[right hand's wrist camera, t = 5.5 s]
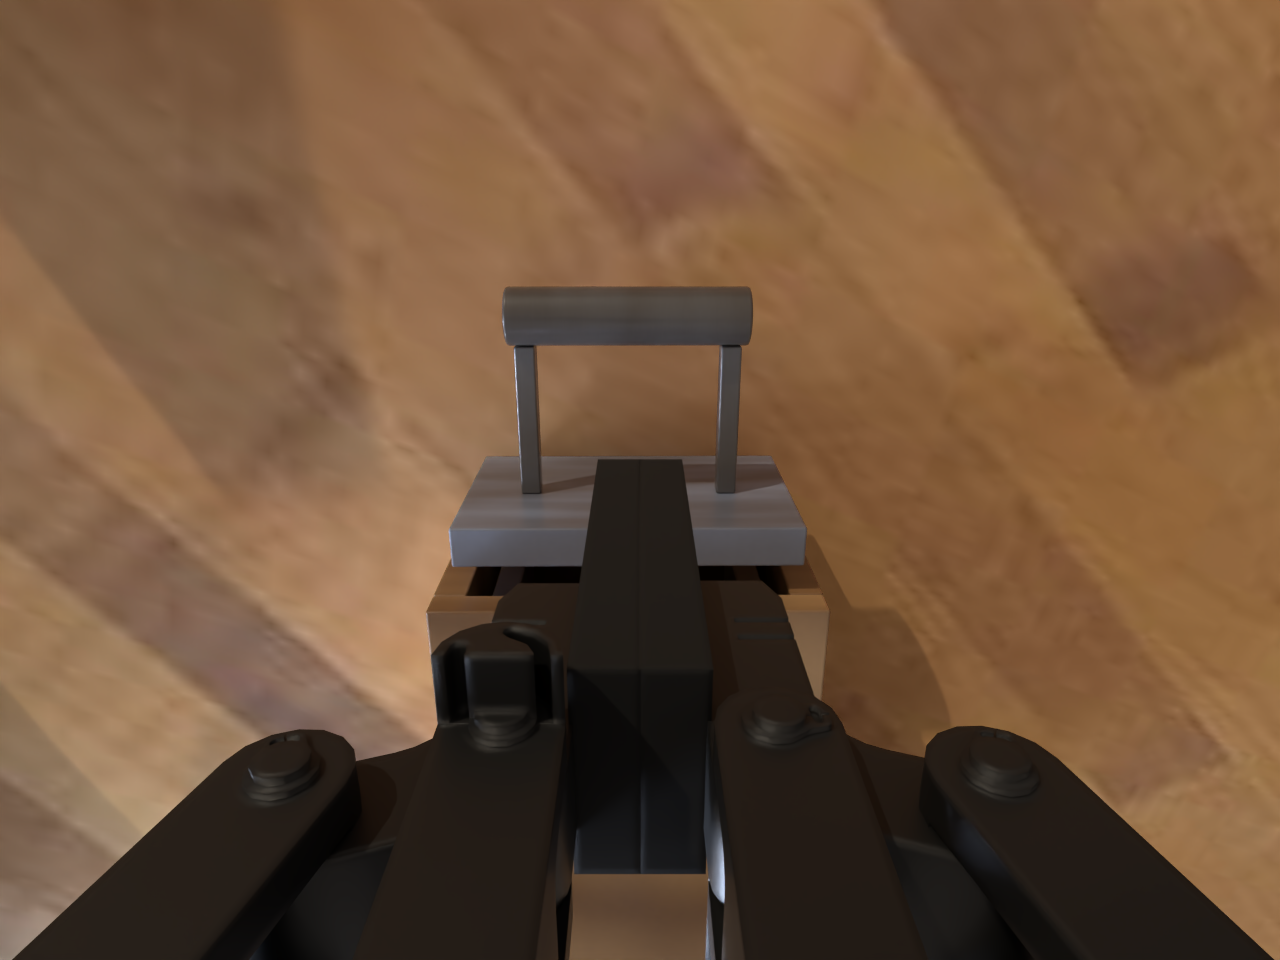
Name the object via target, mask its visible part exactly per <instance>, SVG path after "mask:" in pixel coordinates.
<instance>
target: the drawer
mask: <svg viewBox="0 0 1280 960" xmlns="http://www.w3.org/2000/svg"><path fill="white" fill-rule="evenodd" d="M502 322H503V332H504V337H505V341H506V343H507V345H510V346H515V347H514V362H515V380H516V398H517V417H518V435H519V454H520V456H487V457H486V458H485V460H484V462H483V464H482V466H481V468H480V470H479V472H478V474H477V476H476V478H475V480H474V482H473V484H472V486H471V487H470V489H469V491H468V493H467V495H466V497H465V499H464V501H463V503H462V505H461V507H460V509H459V511H458V513H457V515H456V517H455V519H454V521H453V523H452V525H451V527H450V529H449V538H450V549H451V560H452V566H453V567H501V570H500V573H499V576H498V579H497V582H496V586H495V589H494V592H493V595H492V596H504V595H506V594H507V593H508V592H509V591H510V590H511V589H513V588H514V587H515V586H516V585H517V584H518V583H580V576H581V569H582V562H583V556H584V549H585V542H586V536H587V529H588V522H589V515H590V509H591V502H592V495H593V488H594V482H595V475H596V468H597V462H598V459H682V462H683V468H684V475H685V482H686V488H687V495H688V502H689V509H690V515H691V522H692V529H693V536H694V542H695V549H696V556H697V562H698V569H699V576H700V581H761V580H760V577H759V574H758V571H757V568H756V566H800V565H804V561H805V548H806V536H807V528H806V526H805V524H804V522H803V520H802V518H801V516H800V513H799V511H798V509H797V507H796V505H795V503H794V501H793V499H792V497H791V495H790V493H789V491H788V489H787V487H786V485H785V483H784V481H783V479H782V477H781V475H780V473H779V471H778V469H777V467H776V465H775V463H774V461H773V459H772V457H771V456H737V443H738V421H739V399H740V377H741V355H742V348H741V346H740V345H748V344H749V342H750V339H751V334H752V324H753V300H752V293H751V290H750V288H749V287H506V288H505V290H504V293H503V300H502ZM536 345H720V346H719V374H718V402H717V430H716V456H541V439H540V416H539V394H538V371H537V349H536Z"/></svg>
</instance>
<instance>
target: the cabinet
mask: <svg viewBox="0 0 1280 960" xmlns="http://www.w3.org/2000/svg"><path fill="white" fill-rule="evenodd" d="M756 568H757V571H758V574H759V577H760V580H761V581H763V582H764V583H765V584H766V585H767V586H768V587H769V588H771V589H772V590H773V591H774V592H775V593H776V594H778V595H779V596H780V597H781V598H782V600H783V603H784V606H785V609H786V612H787V615H788V621H789V622H790V624H791V627H792V630H793V633H794V639H796V642H797V645H798V648H799V651H800V654H801V657H802V660H803V663H804V666H805V669H806V672H807V675H808V678H809V681H810V684H811V687H812V690H813V693H814V696H815V697H816V698H818V699H819V700H821V701H822V692H823V682H824V671H825V661H826V650H827V640H828V629H829V619H830V610H829V607H828V605H827V603H826V601H825V599H824V596H823V594H822V591H821V589H820V587H819V585H818V582H817V580H816V578H815V576H814V574H813V571H812V569H811V567H810V565H809V563H808V560H807V558H806V556H805V561H804V565H800V566H756ZM500 570H501V567H453V566H452V560H450V562H449V564H448V566H447V568H446V570H445V572H444V575H443V577H442V579H441V581H440V583H439V585H438V587H437V589H436V592H435V594H434V597H433V598H432V601H431V603H430V605H429V607H428V609H427V611H426V620H427V629H428V639H429V648H430V658H431V654H432V653H433V652H434V651H435V649H436V648H437V647H438V646H439V644H440V643H441V642H442V641H444V640H445V639H447V638H449V637H450V636H452V635H454V634H455V633H457V632H459V631H461V630H464V629H468V628H471V627H474V626H477V625H480V624H486V623H492V619H493V616H494V613H495V610H496V607H497V604H498V601H499V600H500V599H501V598H502V597H503V596H492V595H493V592H494V589H495V586H496V582H497V579H498V576H499V573H500ZM431 667H432V664H431ZM432 677H433V673H432ZM433 686H434V683H433ZM434 696H435V692H434ZM435 705H436V702H435ZM436 715H437V711H436ZM437 724H438V721H437ZM572 901H573V922H572V933H571V945H570V956H569V960H705V953H706V927H707V901H708V867H707V857H706V874H574V861H573V871H572Z"/></svg>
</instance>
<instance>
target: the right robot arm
mask: <svg viewBox="0 0 1280 960" xmlns="http://www.w3.org/2000/svg"><path fill="white" fill-rule="evenodd" d="M431 664H432V673H433V683H434V692H435V702H436V711H437V721H438V725H437V728H436V731H435V734H434V736H433V739H431V740H428V741H426V742H424V743H422V744H420V745H418V746H416V747H413V748H409V749H406V750H403V751H399V752H396V753H392V754H387V755H383V756H378V757H374V758H369V759H364V760H360V761H356V759H355V752H354V749H353V748H352V746H351V745H350V744H349V743H348V742H347V741H346V740H345V739H344V738H343V737H342V736H339V735H336V734H333V733H330V732H328V731H325V730H300V729H299V730H294V731H289V732H284V733H279V734H275V735H271V736H268V737H266V738H264V739H261V740H259V741H257V742H254V743H252V744H250V745H247V746H245V747H244V748H242V749H241V750H240V751H238V752H237V753H235V754H234V755H233V756H231V757H230V758H228V759H227V760H226V761H224V762H223V763H222V764H221V765H220V766H219V767H218V768H217V769H215V770H214V771H213V772H212V773H211V774H210V775H209V776H208V777H207V778H206V779H205V780H204V781H203V782H202V783H201V784H199V785H198V786H197V787H196V788H195V789H194V790H193V791H192V792H191V793H190V794H189V795H188V796H187V797H186V798H184V799H183V800H182V801H181V802H180V803H179V804H178V805H177V806H176V807H175V808H174V809H173V810H172V811H171V812H170V813H168V814H167V815H166V816H165V817H164V818H163V819H162V820H161V821H160V822H159V823H158V824H157V825H156V826H155V827H154V828H152V829H151V830H150V831H149V832H148V833H147V834H146V835H145V836H144V837H143V838H142V839H141V840H140V841H139V842H137V843H136V844H135V845H134V846H133V847H132V848H131V849H130V850H129V851H128V852H127V853H126V854H125V855H124V856H123V857H121V858H120V859H119V860H118V861H117V862H116V863H115V864H114V865H113V866H112V867H111V868H110V869H109V870H108V871H107V872H105V873H104V874H103V875H102V876H101V877H100V878H99V879H98V880H97V881H96V882H95V883H94V884H93V885H92V886H90V887H89V888H88V889H87V890H86V891H85V892H84V893H83V894H82V895H81V896H80V897H79V898H78V899H77V900H76V901H74V902H73V903H72V904H71V905H70V906H69V907H68V908H67V909H66V910H65V911H64V912H63V913H62V914H61V915H59V916H58V917H57V918H56V919H55V920H54V921H53V922H52V923H51V924H50V925H49V926H48V927H47V928H46V929H45V930H43V931H42V932H41V933H40V934H39V935H38V936H37V937H36V938H35V939H34V940H33V941H32V942H31V943H30V944H29V945H27V946H26V947H25V948H24V949H23V950H22V951H21V952H20V953H19V954H18V955H17V956H16V957H15V958H14V959H12V960H569V956H570V945H571V933H572V922H573V901H572V871H573V861H574V874H706V857H707V867H708V901H707V927H706V953H705V960H1274V959H1273V958H1272V957H1271V956H1270V955H1269V954H1267V953H1266V952H1265V951H1264V950H1263V949H1262V948H1261V947H1260V946H1259V945H1258V944H1257V943H1256V942H1255V941H1253V940H1252V939H1251V938H1250V937H1249V936H1248V935H1247V934H1246V933H1245V932H1244V931H1243V930H1242V929H1241V928H1239V927H1238V926H1237V925H1236V924H1235V923H1234V922H1233V921H1232V920H1231V919H1230V918H1229V917H1228V916H1227V915H1225V914H1224V913H1223V912H1222V911H1221V910H1220V909H1219V908H1218V907H1217V906H1216V905H1215V904H1214V903H1213V902H1211V901H1210V900H1209V899H1208V898H1207V897H1206V896H1205V895H1204V894H1203V893H1202V892H1201V891H1200V890H1199V889H1198V888H1196V887H1195V886H1194V885H1193V884H1192V883H1191V882H1190V881H1189V880H1188V879H1187V878H1186V877H1185V876H1184V875H1182V874H1181V873H1180V872H1179V871H1178V870H1177V869H1176V868H1175V867H1174V866H1173V865H1172V864H1171V863H1170V862H1168V861H1167V860H1166V859H1165V858H1164V857H1163V856H1162V855H1161V854H1160V853H1159V852H1158V851H1157V850H1156V849H1154V848H1153V847H1152V846H1151V845H1150V844H1149V843H1148V842H1147V841H1146V840H1145V839H1144V838H1143V837H1142V836H1140V835H1139V834H1138V833H1137V832H1136V831H1135V830H1134V829H1133V828H1132V827H1131V826H1130V825H1129V824H1128V823H1126V822H1125V821H1124V820H1123V819H1122V818H1121V817H1120V816H1119V815H1118V814H1117V813H1116V812H1115V811H1114V810H1112V809H1111V808H1110V807H1109V806H1108V805H1107V804H1106V803H1105V802H1104V801H1103V800H1102V799H1101V798H1100V797H1098V796H1097V795H1096V794H1095V793H1094V792H1093V791H1092V790H1091V789H1090V788H1089V787H1088V786H1087V785H1086V784H1084V783H1083V782H1082V781H1081V780H1080V779H1079V778H1078V777H1077V776H1076V775H1075V774H1074V773H1073V772H1072V771H1070V770H1069V769H1068V768H1067V767H1066V766H1065V765H1064V764H1063V763H1062V762H1061V761H1060V760H1059V759H1058V758H1056V757H1055V756H1053V755H1052V754H1051V753H1049V752H1048V751H1046V750H1045V749H1044V748H1042V747H1041V746H1039V745H1038V744H1036V743H1035V742H1033V741H1030V740H1028V739H1025V738H1023V737H1021V736H1018V735H1016V734H1014V733H1011V732H1009V731H1004V730H1000V729H994V728H989V727H984V726H959V727H954V728H951V729H949V730H946V731H943V732H940V733H937V735H936V736H935V737H934V738H933V739H932V740H931V741H930V742H929V743H928V745H927V746H926V752H925V758H922V757H918V756H913V755H908V754H904V753H899V752H895V751H890V750H886V749H882V748H879V747H875V746H872V745H869V744H866V743H863V742H861V741H859V740H857V739H855V738H853V737H850V736H848V735H847V734H846V732H845V730H844V727H843V724H842V722H841V721H840V719H839V718H838V716H837V715H836V713H835V712H834V711H833V709H832V708H831V707H829V706H828V705H826V704H825V703H824V702H822V701H821V700H819V699H818V698H816V697H815V696H814V693H813V690H812V687H811V684H810V681H809V678H808V675H807V672H806V669H805V666H804V663H803V660H802V657H801V654H800V651H799V648H798V645H797V642H796V639H794V633H793V630H792V627H791V624H790V622H789V621H788V615H787V612H786V609H785V606H784V603H783V600H782V598H781V597H780V596H779V595H778V594H776V593H775V592H774V591H773V590H772V589H771V588H769V587H768V586H767V585H766V584H765V583H764V582H763V581H700V576H699V569H698V562H697V556H696V549H695V542H694V536H693V529H692V522H691V515H690V509H689V502H688V495H687V488H686V482H685V475H684V468H683V462H682V459H598V462H597V468H596V475H595V482H594V488H593V495H592V502H591V509H590V515H589V522H588V529H587V536H586V542H585V549H584V556H583V562H582V569H581V576H580V583H518V584H517V585H516V586H515V587H514V588H513V589H511V590H510V591H509V592H508V593H507V594H506V595H504V596H503V597H502V598H501V599H500V600H499V601H498V604H497V607H496V610H495V613H494V616H493V619H492V623H486V624H480V625H477V626H474V627H471V628H468V629H464V630H461V631H459V632H457V633H455V634H454V635H452V636H450V637H449V638H447V639H445V640H444V641H442V642H441V643H440V644H439V646H438V647H437V648H436V649H435V651H434V652H433V653H432V654H431Z"/></svg>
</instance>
